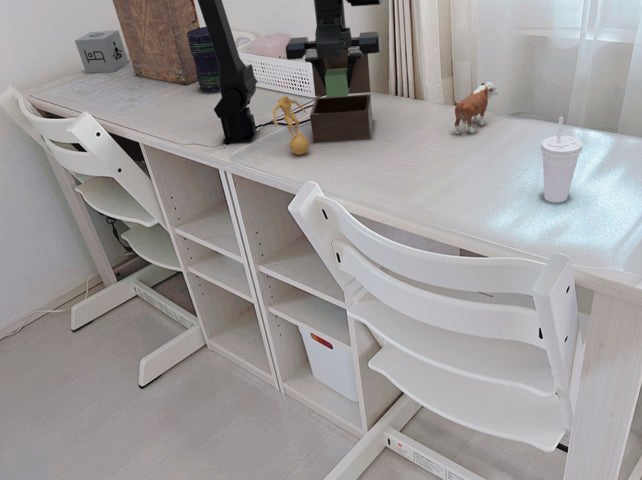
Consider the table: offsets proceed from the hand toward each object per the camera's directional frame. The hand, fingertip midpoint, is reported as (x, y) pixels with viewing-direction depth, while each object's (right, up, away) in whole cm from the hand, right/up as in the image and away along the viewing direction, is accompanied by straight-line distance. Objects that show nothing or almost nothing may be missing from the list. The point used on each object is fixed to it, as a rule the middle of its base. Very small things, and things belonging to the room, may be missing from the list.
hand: (337, 88), depth 128 cm
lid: (0, +6, +5) cm, 8 cm away
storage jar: (-35, +15, +43) cm, 57 cm away
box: (+1, -7, +8) cm, 10 cm away
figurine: (-8, -14, +1) cm, 16 cm away
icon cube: (-77, +31, +72) cm, 110 cm away
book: (-51, +23, +57) cm, 80 cm away
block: (0, -1, +1) cm, 1 cm away
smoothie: (+38, -27, -25) cm, 53 cm away
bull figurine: (+29, -8, +3) cm, 30 cm away
